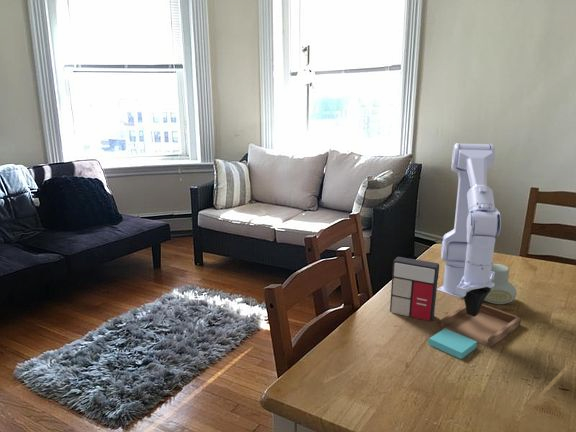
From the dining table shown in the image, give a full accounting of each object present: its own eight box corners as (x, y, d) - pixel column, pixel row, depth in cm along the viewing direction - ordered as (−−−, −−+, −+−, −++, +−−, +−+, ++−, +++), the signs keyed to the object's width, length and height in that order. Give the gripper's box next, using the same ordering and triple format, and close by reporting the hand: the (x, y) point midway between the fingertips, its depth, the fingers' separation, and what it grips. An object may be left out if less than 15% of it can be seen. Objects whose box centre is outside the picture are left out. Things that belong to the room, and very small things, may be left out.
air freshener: (475, 304, 124) (479, 270, 121) (471, 291, 132) (474, 260, 129) (518, 308, 122) (523, 274, 119) (511, 295, 129) (515, 263, 127)
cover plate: (443, 337, 108) (444, 328, 107) (475, 351, 102) (477, 341, 102) (428, 347, 104) (429, 338, 103) (460, 363, 98) (461, 352, 97)
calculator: (388, 314, 118) (392, 261, 114) (393, 307, 122) (396, 256, 118) (431, 323, 114) (436, 269, 110) (434, 316, 117) (439, 263, 113)
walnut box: (471, 308, 121) (472, 300, 121) (519, 326, 112) (521, 317, 112) (440, 328, 111) (441, 319, 111) (490, 349, 102) (491, 339, 102)
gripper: (480, 275, 96) (473, 331, 100) (510, 258, 105) (502, 310, 109) (450, 265, 101) (444, 319, 105) (481, 250, 110) (474, 300, 114)
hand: (472, 314), depth 107 cm, fingers closed
